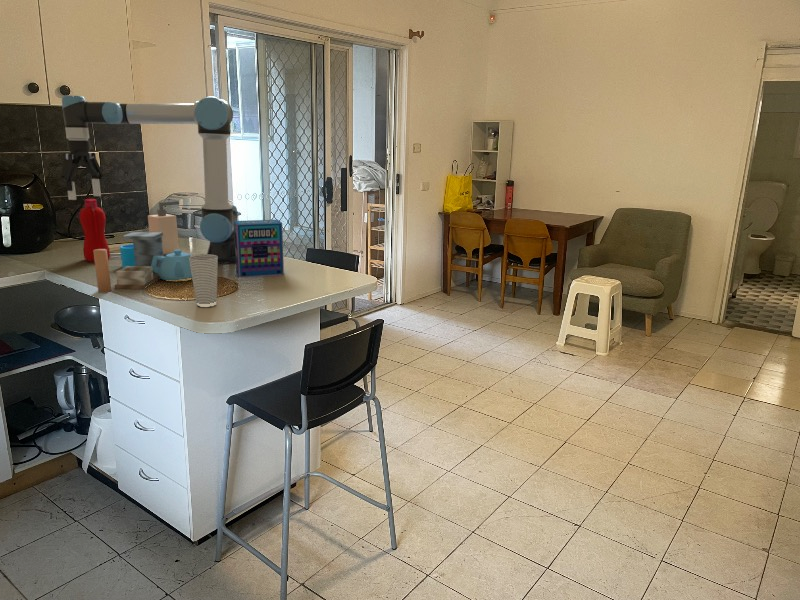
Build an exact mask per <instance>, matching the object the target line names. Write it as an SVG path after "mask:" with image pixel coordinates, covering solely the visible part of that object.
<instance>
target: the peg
mask: <svg viewBox="0 0 800 600" xmlns="http://www.w3.org/2000/svg"><path fill="white" fill-rule="evenodd" d="M93 252H94V260H95V262H94V266H95V267H94V268H95V276H96V284H97V285H96V286H97V291H98V293H110V292H112V286H111V285H112V284H111V275H110V267H109V260H108V256H107V249H96V250H93Z"/></svg>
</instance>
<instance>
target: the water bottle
mask: <svg viewBox="0 0 800 600" xmlns="http://www.w3.org/2000/svg"><path fill="white" fill-rule="evenodd" d="M97 203H98V202H97V199H95V198H87V199H86V198H85V199H84V207H83V208H82V209H80V211H79V213H78V215H79V222H80V225H81V227H82V231H83V234H84V239H83V249H82V252H83V257H84V260H85V261H88V262H89V263H93V262H94V263H95V260H94V252H93V250H96V249H107V256H108V261H109V260H110V258H111V251H110V248H109V244H108V241H107V238H106V235H105V231H106V230H105V228H106V221H107V220H106V214H105V212H104V210H103V209H102V208H101V207H98V204H97Z"/></svg>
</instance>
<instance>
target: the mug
mask: <svg viewBox="0 0 800 600" xmlns="http://www.w3.org/2000/svg"><path fill="white" fill-rule="evenodd" d="M119 249H120V258H121V267H122V268H124V267H126V266H135V256H134V246H133V243H132V244H124V245H121V246H119Z"/></svg>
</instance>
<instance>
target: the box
mask: <svg viewBox="0 0 800 600" xmlns="http://www.w3.org/2000/svg"><path fill="white" fill-rule="evenodd" d="M283 231H284V230H283V222H281V220H279V219H256V220H253V219H252V220H238V221H234V239H235V257H236V262H235V268H236V269H235V270H236V274H238V275H237V276H239V277H244V278H258V277H273V276H275V277H276V276H284V275H285V269H284V268H285V266H284V239H283V236H284V235H283ZM239 277H238V278H239Z"/></svg>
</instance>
